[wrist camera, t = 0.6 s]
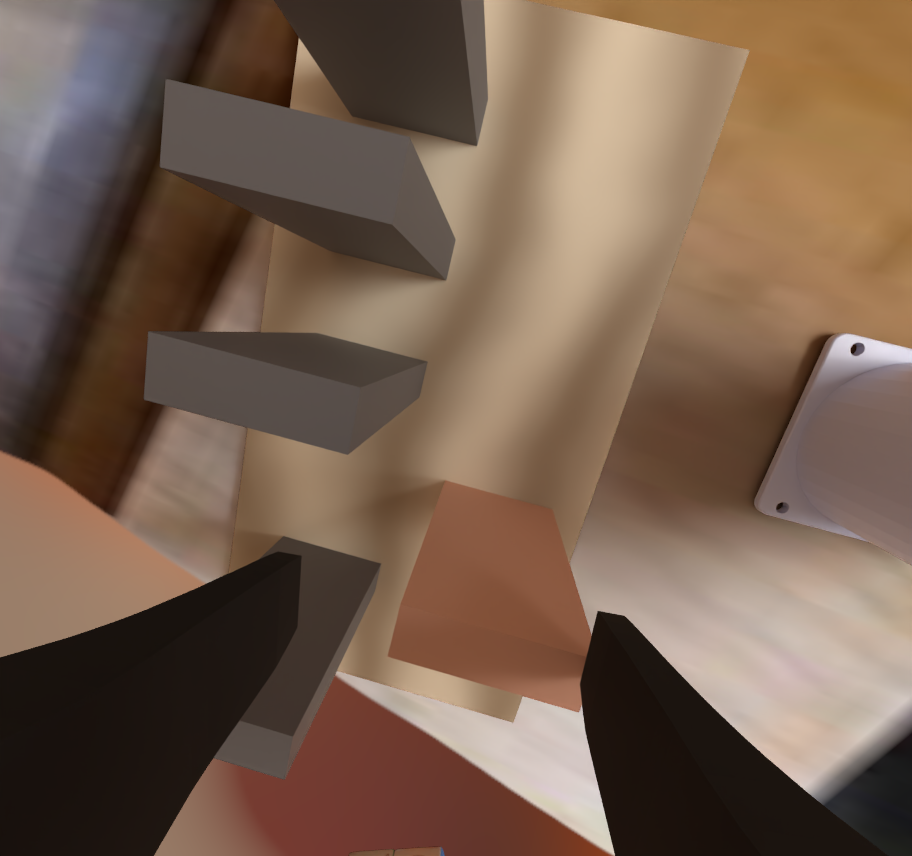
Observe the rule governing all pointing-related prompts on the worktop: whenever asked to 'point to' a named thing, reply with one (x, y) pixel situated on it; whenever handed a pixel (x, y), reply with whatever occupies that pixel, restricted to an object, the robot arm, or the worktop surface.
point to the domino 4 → (495, 599)
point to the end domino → (303, 658)
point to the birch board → (497, 303)
